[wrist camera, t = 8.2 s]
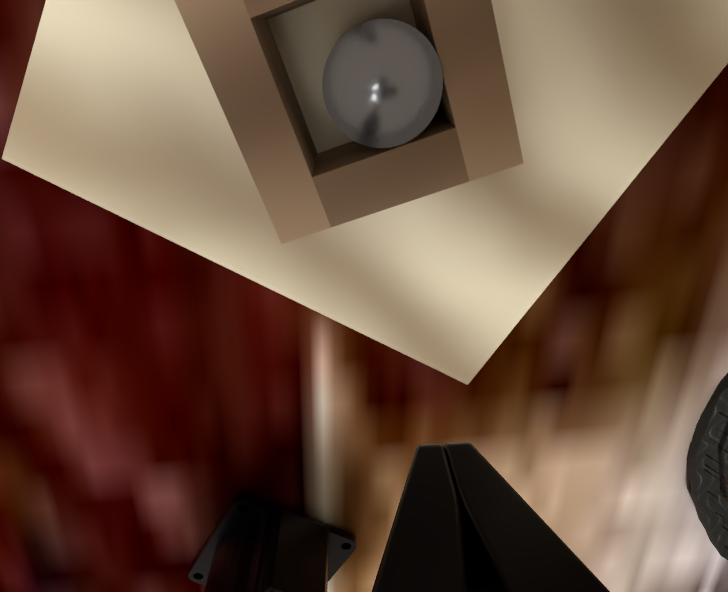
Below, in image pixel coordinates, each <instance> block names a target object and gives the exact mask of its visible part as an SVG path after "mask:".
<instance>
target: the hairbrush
mask: <svg viewBox="0 0 728 592" xmlns="http://www.w3.org/2000/svg"><path fill="white" fill-rule="evenodd" d="M690 446H691V448H690V447H689V452H688V457H687V489H688V491H689V493H690V496H691V498H692V500H693V502H694V505H695V507H696V511H697V514H698V517H699V520H700V521H701V523H702V525H703V526H704V528H705V530H706V532H707V534H708V537H709V539H710V541H711V542H712V544H713V545H714V546H715V548H716V549H717V550H718V552H719V553H720V555H721V556H722V557H724V558H725V559H727V560H728V503H727V501H728V374H726V376H725V377H724V378H723V379H722V380H721V382H720V383H719V385H718V387H717V389H716V390H715V392H714V394H713V395H712V397H711V399H710V401H709V402H708V404H707V406H706V408H705V409H704V411H703V413H702V414H701V417H700V419H699V421H698V423H697V425H696V429H695V432H694V435H693V439H692V443H691V442H690ZM720 486H721V489H722V491H723V494H724V496H725V498H726V500H727V501H726V500H725V498H724V496H723V495H722V494H721V492H720Z"/></svg>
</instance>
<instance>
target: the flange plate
mask: <svg viewBox="0 0 728 592" xmlns="http://www.w3.org/2000/svg"><path fill="white" fill-rule="evenodd" d="M314 1H316V0H175V3H176V5H177V7H178V10H179V12H180V14H181V16H182V19H183V21H184V23H185V25H186V28H187V30H188V32H189V35H190V37H191V39H192V41H193V44H194V46H195V48H196V50H197V53H198V55H199V57H200V60H201V62H202V64H203V66H204V69H205V71H206V73H207V75H208V78H209V80H210V82H211V85H212V87H213V89H214V91H215V94H216V96H217V98H218V101H219V103H220V105H221V107H222V110H223V112H224V114H225V116H226V119H227V121H228V123H229V126H230V128H231V130H232V132H233V135H234V137H235V139H236V141H237V144H238V146H239V148H240V151H241V153H242V155H243V157H244V160H245V162H246V164H247V166H248V169H249V171H250V173H251V176H252V178H253V180H254V182H255V185H256V187H257V189H258V192H259V194H260V196H261V198H262V201H263V203H264V205H265V207H266V210H267V212H268V214H269V217H270V219H271V221H272V223H273V226H274V228H275V230H276V232H277V235H278V237H279V239H280V242H281V244H283V243H286V242H289V241H292V240H295V239H298V238H301V237H304V236H307V235H310V234H313V233H316V232H319V231H322V230H325V229H328V228H331V227H334V226H337V225H340V224H343V223H346V222H349V221H352V220H355V219H358V218H361V217H364V216H367V215H370V214H373V213H376V212H379V211H382V210H385V209H388V208H391V207H394V206H397V205H400V204H403V203H406V202H409V201H412V200H415V199H418V198H421V197H424V196H427V195H430V194H433V193H436V192H439V191H442V190H445V189H448V188H451V187H454V186H457V185H460V184H463V183H466V182H469V181H472V180H475V179H478V178H481V177H484V176H487V175H490V174H493V173H496V172H499V171H502V170H505V169H508V168H511V167H514V166H517V165H520V164H523V163H524V162H523V157H522V152H521V147H520V142H519V137H518V132H517V127H516V122H515V117H514V112H513V107H512V102H511V97H510V92H509V87H508V82H507V77H506V72H505V67H504V62H503V57H502V52H501V46H500V41H499V36H498V31H497V26H496V21H495V16H494V11H493V6H492V1H491V0H410V4H411V8H412V12H413V15H414V19H415V23H416V27H417V30H418V31H420V32H421V33H422V34H423V35H424V36H425V37H426V38H427V39H428V40H429V42H430V43H431V44H432V46H433V48H434V49H435V51H436V53H437V55H438V58H439V61H440V64H441V68H442V75H443V90H442V96H441V100H440V104H439V107H438V111H437V112H436V113H435V115H434V117H433V119H432V120H431V122H430V123H429V125H428V126H427V127H426V128H425V129H424V130H423V131H422V132H421V133H420V134H419V135H418V136H416V137H415V138H413V139H412V140H410V141H408V142H406V143H404V144H401V145H398V146H395V147H390V148H373V147H368V146H365V145H362V144H359V143H357V142H355V141H352V142H349V143H346V144H343V145H340V146H337V147H335V148H332V149H329V150H326V151H323V152H320V153H317V151H316V148H315V146H314V143H313V140H312V138H311V135H310V132H309V130H308V127H307V124H306V122H305V119H304V116H303V114H302V111H301V108H300V106H299V103H298V100H297V98H296V95H295V92H294V90H293V87H292V84H291V82H290V79H289V76H288V74H287V71H286V68H285V66H284V63H283V60H282V57H281V55H280V52H279V49H278V47H277V44H276V41H275V39H274V36H273V33H272V31H271V28H270V25H269V23H268V20H267V19H270V18H273V17H275V16H278V15H280V14H283V13H285V12H288V11H291V10H293V9H296V8H298V7H301V6H303V5H306V4H308V3H311V2H314Z"/></svg>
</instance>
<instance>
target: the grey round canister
mask: <svg viewBox="0 0 728 592" xmlns="http://www.w3.org/2000/svg"><path fill="white" fill-rule="evenodd" d="M322 90H323V97H324V102H325V105H326V108H327V111H328V113H329V115H330V117H331V119H332V120H333V122H334V123H335V125H336V126H337V127H338V128H339V129H340V131H341V132H343V133H344V134H345V135H346V136H347V137H349V138H350V139H352V140H353V141H355V142H357V143H359V144H362V145H365V146H368V147H373V148H390V147H395V146H398V145H401V144H404V143H406V142H408V141H410V140H412V139H413V138H415V137H416V136H418V135H419V134H420V133H421V132H422V131H423V130H424V129H425V128H426V127H427V126H428V125H429V123H430V122H431V120H432V119H433V117H434V115H435V113H436V112H437V109H438V107H439V104H440V100H441V96H442V90H443V75H442V68H441V64H440V61H439V58H438V55H437V53H436V51H435V49H434V48H433V46H432V44H431V43H430V42H429V40H428V39H427V38H426V37H425V36H424V35H423V34H422V33H421V32H420V31H418V30H417V29H416V28H414V27H412V26H411V25H409V24H407V23H404V22H402V21H398V20H394V19H374V20H369V21H365V22H362V23H359V24H357V25H355V26H353V27H351V28H350V29H349V30H347V31H346V32H345V33H344V34H343V35H342V36H341V37H340V38H339V40H338V41H337V42H336V44H335V45H334V47H333V48H332V50H331V52H330V53H329V56H328V58H327V61H326V64H325V67H324V71H323V78H322Z"/></svg>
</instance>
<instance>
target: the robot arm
mask: <svg viewBox="0 0 728 592" xmlns="http://www.w3.org/2000/svg"><path fill="white" fill-rule="evenodd" d="M245 505H246V506H245ZM355 548H356V537H355V536H354V535H353V534H352V533H349V532H347V531H344V530H341V529H339V528H336V527H333V526H331V525H328V524H325V523H323V522H320V521H317V520H315V519H312V518H309V517H307V516H304V515H301V514H299V513H296V512H293V511H291V510H288V509H285V508H283V507H280V506H277V505H275V504H272V503H269V502H267V501H264V500H261V499H259V498H256V497H253V496H251V495H247V494H241V495H238V496H237V497H236V498H235V499H234V501H233V502H232V504H231V505H230V507H229V508H228V510H227V511H226V513H225V515H224V516H223V518H222V519H221V521H220V522H219V524H218V525H217V527H216V528H215V530H214V532H213V533H212V535H211V536H210V538H209V539H208V541H207V542H206V544H205V545H204V547H203V548H202V550H201V552H200V553H199V555H198V556H197V558H196V559H195V561H194V562H193V564H192V565H191V568H190V571H189V575H188V577H189V579H190V580H191V581H194V582H196V583H199V584H202V585H205V590H204V592H327V582H328V581H329V580H330V579H331V578H332V576H333V575H334V574H335V573H336V572H337V570H338V569H339V568H340V567H341V566H342V564H343V563H344V562H345V561H346V560H347V558H348V557H349V556H350V555H351V554H352V552H353V551H354V550H355ZM372 592H610V591H609V590H608V589H607V588H606V587H605V586H604V585H603V584H602V583H601V582H600V581H599V580H598V578H597V577H596V576H595V575H594V574H593V573H592V572H591V571H590V570H589V569H588V568H587V567H586V566H585V565H584V564H583V562H582V561H581V560H580V559H579V558H578V557H577V556H576V555H575V554H574V553H573V552H572V551H571V550H570V549H569V548H568V546H567V545H566V544H565V543H564V542H563V541H562V540H561V539H560V538H559V537H558V536H557V535H556V534H555V533H554V532H553V531H552V529H551V528H550V527H549V526H548V525H547V524H546V523H545V522H544V521H543V520H542V519H541V518H540V517H539V516H538V515H537V513H536V512H535V511H534V510H533V509H532V508H531V507H530V506H529V505H528V504H527V503H526V502H525V501H524V500H523V499H522V497H521V496H520V495H519V494H518V493H517V492H516V491H515V490H514V489H513V488H512V487H511V486H510V485H509V484H508V483H507V481H506V480H505V479H504V478H503V477H502V476H501V475H500V474H499V473H498V472H497V471H496V470H495V469H494V468H493V467H492V466H491V464H490V463H489V462H488V461H487V460H486V459H485V458H484V457H483V456H482V455H481V454H480V453H479V452H478V451H477V450H476V448H475V447H474V446H473V445H472V444H470V443H468V442H454V443H446V444H445V445H444V447H443V445H442V444H439V443H436V444H421V445H419V446H418V447H417V448H416V451H415V454H414V458H413V461H412V464H411V467H410V470H409V474H408V477H407V480H406V483H405V487H404V490H403V493H402V496H401V499H400V503H399V506H398V509H397V512H396V515H395V519H394V522H393V525H392V528H391V531H390V535H389V538H388V541H387V544H386V547H385V551H384V554H383V557H382V560H381V564H380V567H379V570H378V573H377V576H376V580H375V583H374V586H373V589H372Z"/></svg>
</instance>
